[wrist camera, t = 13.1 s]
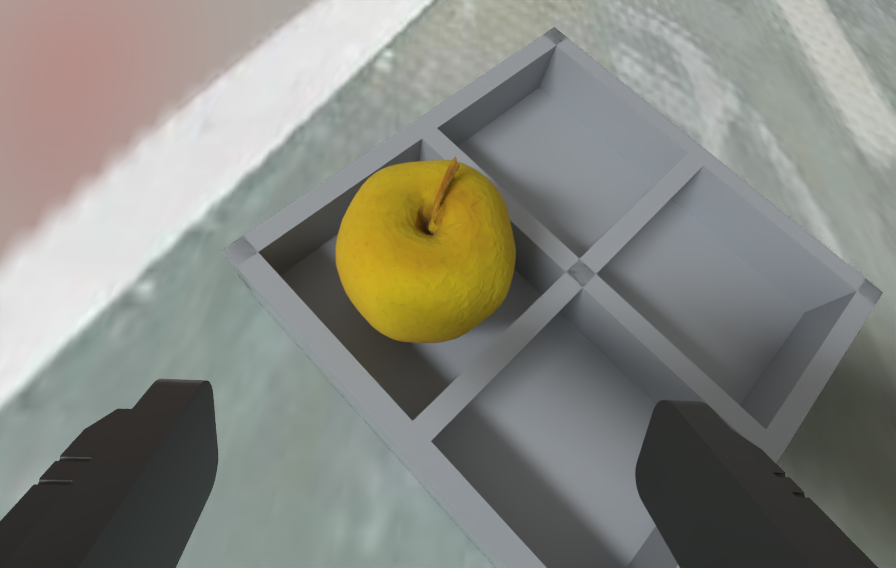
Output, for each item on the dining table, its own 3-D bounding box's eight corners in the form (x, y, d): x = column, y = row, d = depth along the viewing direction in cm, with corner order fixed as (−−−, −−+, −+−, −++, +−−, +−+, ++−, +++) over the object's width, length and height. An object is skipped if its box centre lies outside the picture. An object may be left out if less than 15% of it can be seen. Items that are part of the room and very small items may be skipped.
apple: (464, 218, 23) (505, 93, 16) (509, 345, 21) (580, 268, 14) (328, 245, 22) (305, 122, 14) (362, 385, 20) (354, 322, 12)
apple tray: (533, 80, 28) (554, 27, 25) (815, 318, 25) (883, 292, 21) (245, 286, 21) (222, 249, 18) (580, 663, 18) (627, 702, 14)
